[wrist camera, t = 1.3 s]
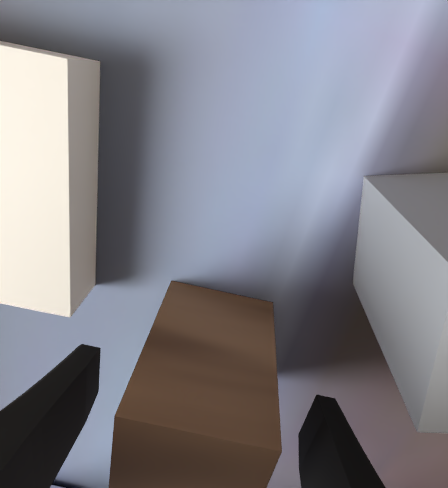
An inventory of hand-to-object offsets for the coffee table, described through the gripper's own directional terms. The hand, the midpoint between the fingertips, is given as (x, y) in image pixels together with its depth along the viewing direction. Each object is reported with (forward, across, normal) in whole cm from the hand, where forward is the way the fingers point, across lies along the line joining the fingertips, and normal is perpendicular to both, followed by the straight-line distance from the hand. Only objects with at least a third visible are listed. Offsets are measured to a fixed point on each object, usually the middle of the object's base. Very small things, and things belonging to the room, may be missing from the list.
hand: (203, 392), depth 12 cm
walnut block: (+3, 0, 0) cm, 3 cm away
